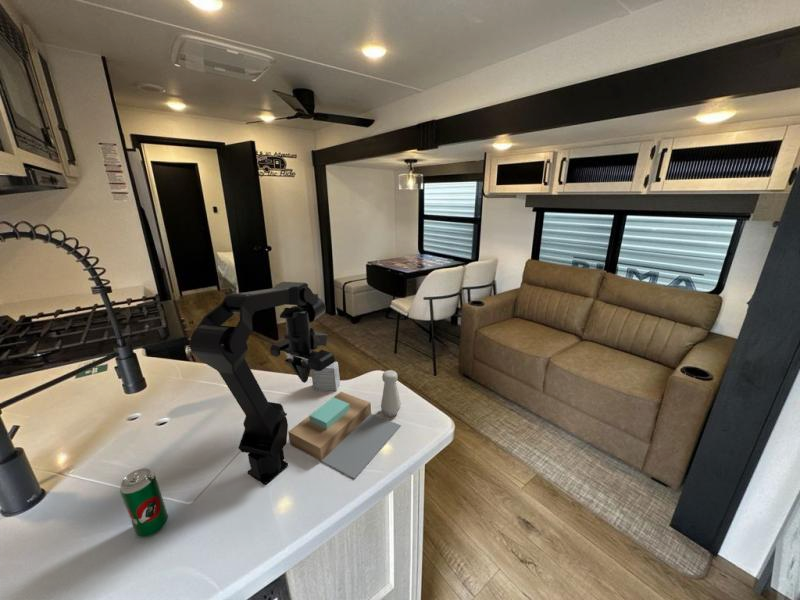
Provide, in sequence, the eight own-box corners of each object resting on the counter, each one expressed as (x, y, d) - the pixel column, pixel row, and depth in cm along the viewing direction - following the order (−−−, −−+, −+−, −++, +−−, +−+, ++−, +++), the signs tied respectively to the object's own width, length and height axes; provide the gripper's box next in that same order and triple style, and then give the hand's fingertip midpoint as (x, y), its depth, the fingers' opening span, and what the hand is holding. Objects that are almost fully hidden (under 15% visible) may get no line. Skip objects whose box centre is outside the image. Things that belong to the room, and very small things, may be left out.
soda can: (174, 513, 64) (160, 465, 60) (157, 538, 59) (140, 489, 55) (149, 514, 64) (132, 466, 60) (129, 540, 59) (110, 490, 55)
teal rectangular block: (327, 429, 80) (326, 422, 80) (310, 421, 83) (309, 415, 83) (349, 409, 88) (349, 403, 87) (333, 403, 91) (333, 397, 90)
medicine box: (340, 384, 107) (338, 361, 105) (336, 391, 103) (334, 368, 100) (317, 383, 108) (315, 360, 105) (313, 390, 104) (310, 367, 101)
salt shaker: (403, 415, 91) (403, 375, 87) (385, 420, 89) (383, 380, 85) (396, 404, 96) (395, 365, 92) (378, 408, 94) (376, 369, 90)
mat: (354, 479, 71) (354, 478, 71) (321, 461, 76) (321, 460, 76) (400, 426, 87) (400, 425, 87) (371, 414, 92) (371, 413, 92)
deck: (321, 461, 76) (320, 448, 74) (290, 444, 81) (288, 431, 80) (371, 414, 92) (370, 402, 91) (342, 402, 97) (341, 391, 96)
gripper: (346, 325, 85) (350, 376, 89) (297, 313, 94) (303, 361, 98) (315, 341, 75) (321, 397, 80) (265, 326, 85) (273, 377, 89)
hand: (304, 381), depth 87 cm, fingers closed
